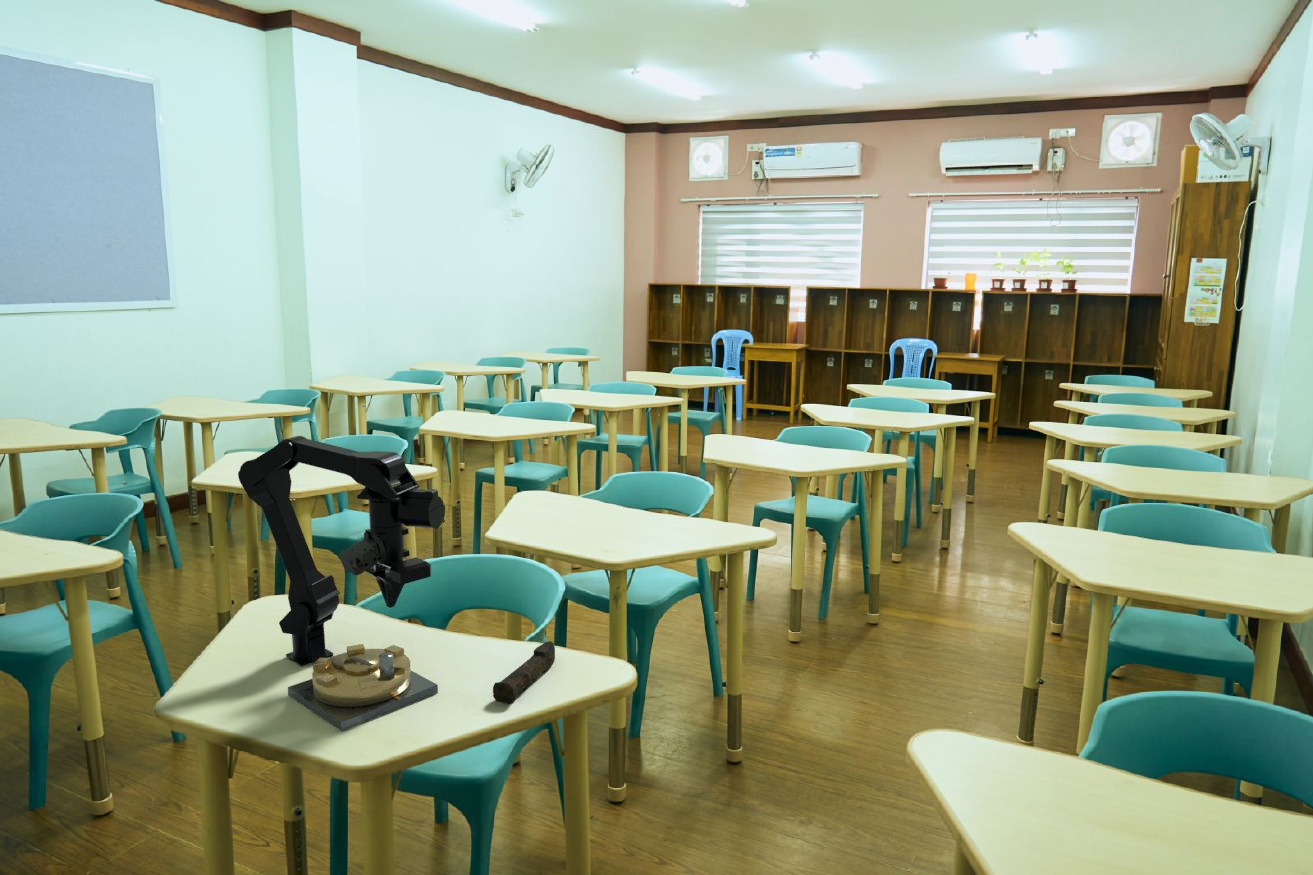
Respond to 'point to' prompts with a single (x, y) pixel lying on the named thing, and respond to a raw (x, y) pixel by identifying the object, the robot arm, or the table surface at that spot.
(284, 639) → the table surface
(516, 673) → the rough bark branch
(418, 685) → the base plate
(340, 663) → the ring nut
